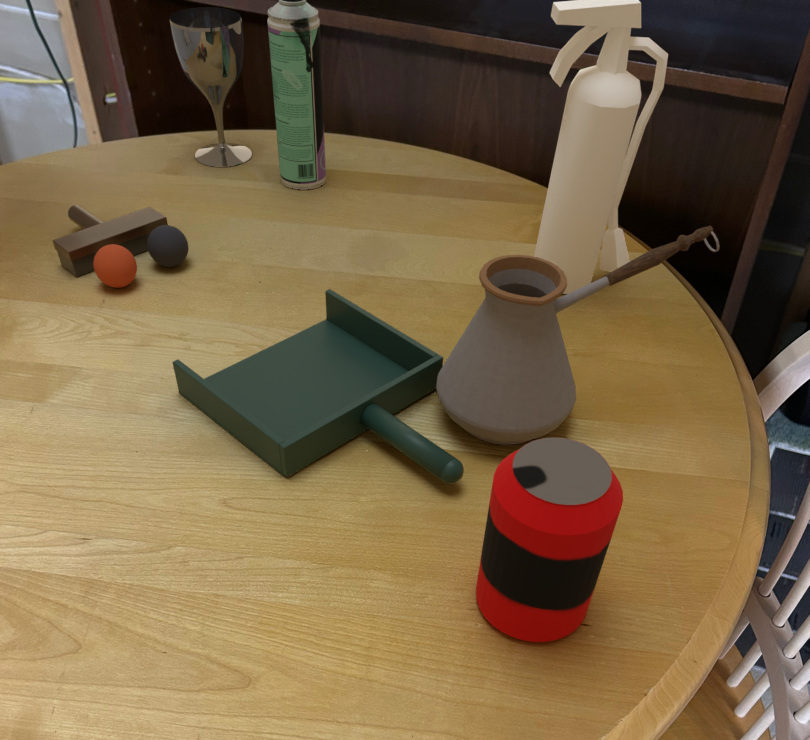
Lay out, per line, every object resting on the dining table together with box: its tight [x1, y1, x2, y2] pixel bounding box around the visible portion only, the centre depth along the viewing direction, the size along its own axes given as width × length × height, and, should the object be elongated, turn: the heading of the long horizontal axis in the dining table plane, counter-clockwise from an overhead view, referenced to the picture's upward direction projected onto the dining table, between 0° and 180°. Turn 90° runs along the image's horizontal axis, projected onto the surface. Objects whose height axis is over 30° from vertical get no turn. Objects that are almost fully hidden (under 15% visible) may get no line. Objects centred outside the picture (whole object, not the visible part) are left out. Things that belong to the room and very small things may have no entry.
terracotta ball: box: [93, 244, 138, 289], centre depth 78 cm, size 4×4×4 cm
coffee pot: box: [435, 225, 720, 446], centre depth 63 cm, size 21×12×15 cm, turn 107°
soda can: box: [475, 437, 624, 643], centre depth 50 cm, size 8×8×12 cm
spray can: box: [267, 0, 327, 191], centre depth 90 cm, size 6×6×20 cm
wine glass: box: [169, 6, 253, 168], centre depth 96 cm, size 8×8×15 cm
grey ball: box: [147, 224, 189, 268], centre depth 81 cm, size 4×4×4 cm
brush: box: [52, 204, 169, 278], centre depth 84 cm, size 9×11×3 cm
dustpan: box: [172, 288, 465, 485], centre depth 66 cm, size 25×17×3 cm
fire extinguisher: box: [533, 0, 669, 295], centre depth 74 cm, size 7×12×25 cm, turn 95°
